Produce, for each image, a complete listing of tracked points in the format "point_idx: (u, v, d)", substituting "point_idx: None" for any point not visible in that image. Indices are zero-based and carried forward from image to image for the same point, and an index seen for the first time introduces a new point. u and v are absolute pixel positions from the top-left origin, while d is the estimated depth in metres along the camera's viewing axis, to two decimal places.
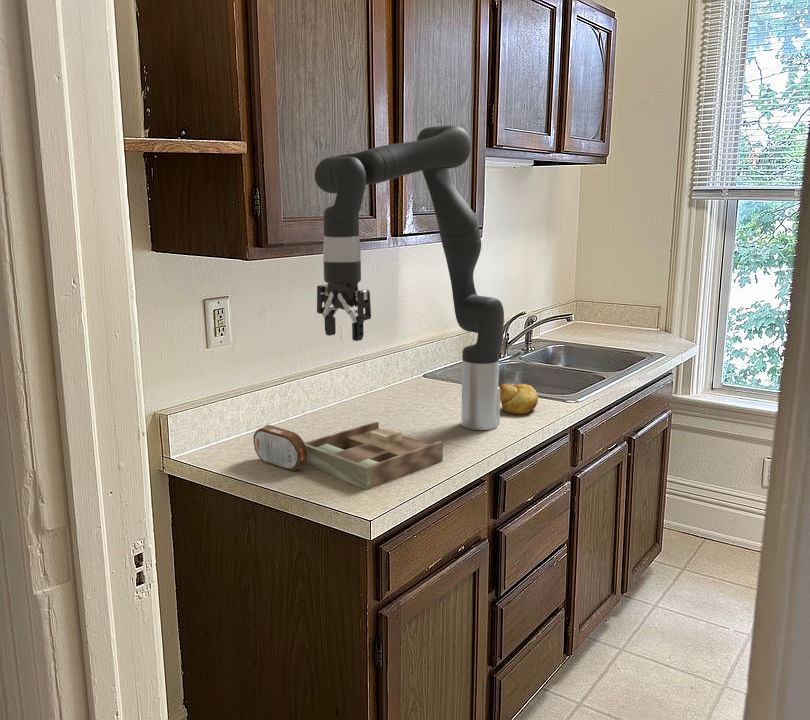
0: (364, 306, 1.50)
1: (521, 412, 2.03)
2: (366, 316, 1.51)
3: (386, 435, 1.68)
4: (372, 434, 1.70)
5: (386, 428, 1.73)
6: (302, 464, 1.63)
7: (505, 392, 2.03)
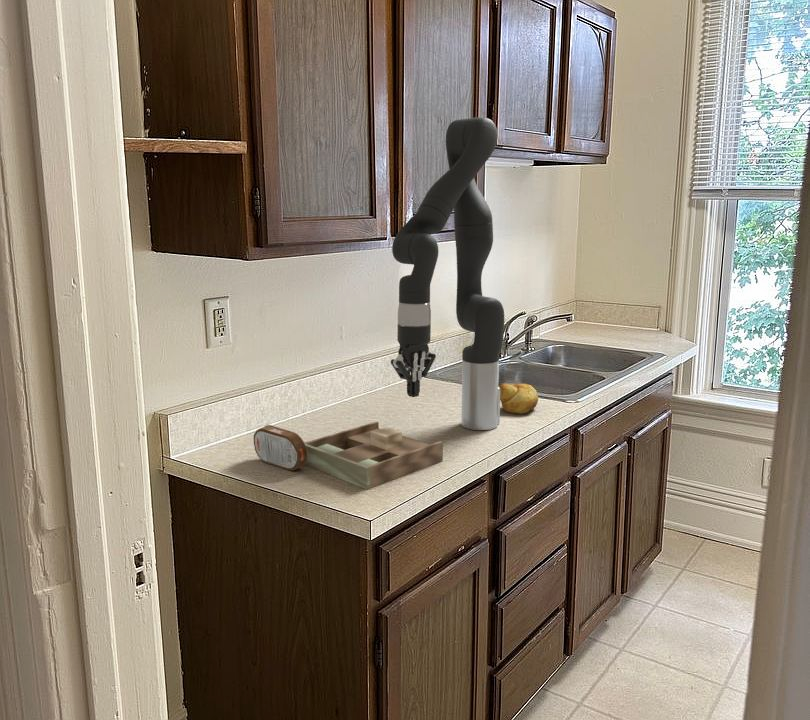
0: None
1: (521, 412, 2.03)
2: None
3: (386, 435, 1.68)
4: (372, 434, 1.70)
5: (386, 428, 1.73)
6: (302, 464, 1.63)
7: (505, 391, 2.03)
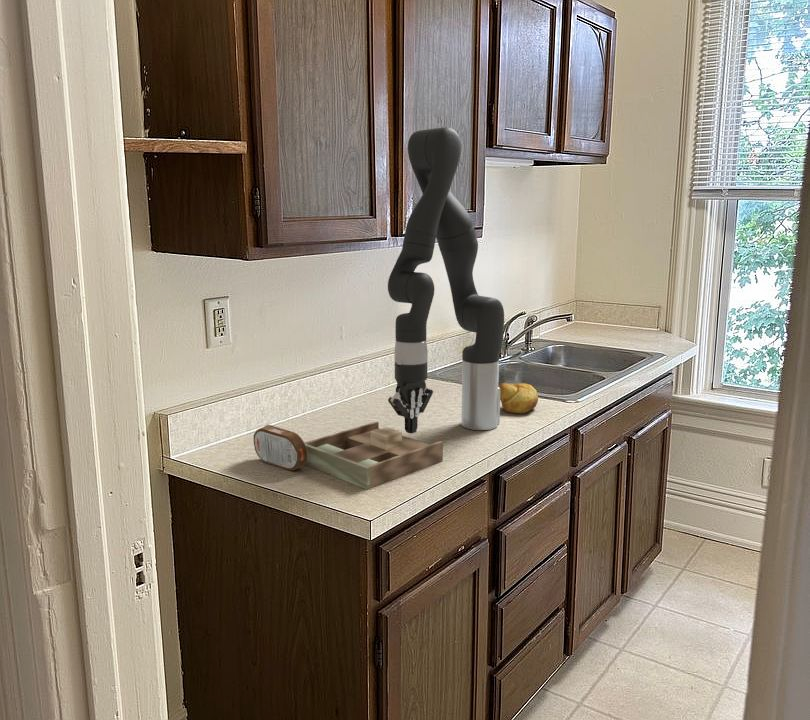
0: None
1: (521, 411, 2.03)
2: None
3: (386, 435, 1.68)
4: (372, 434, 1.70)
5: (386, 428, 1.73)
6: (302, 464, 1.63)
7: (505, 391, 2.03)
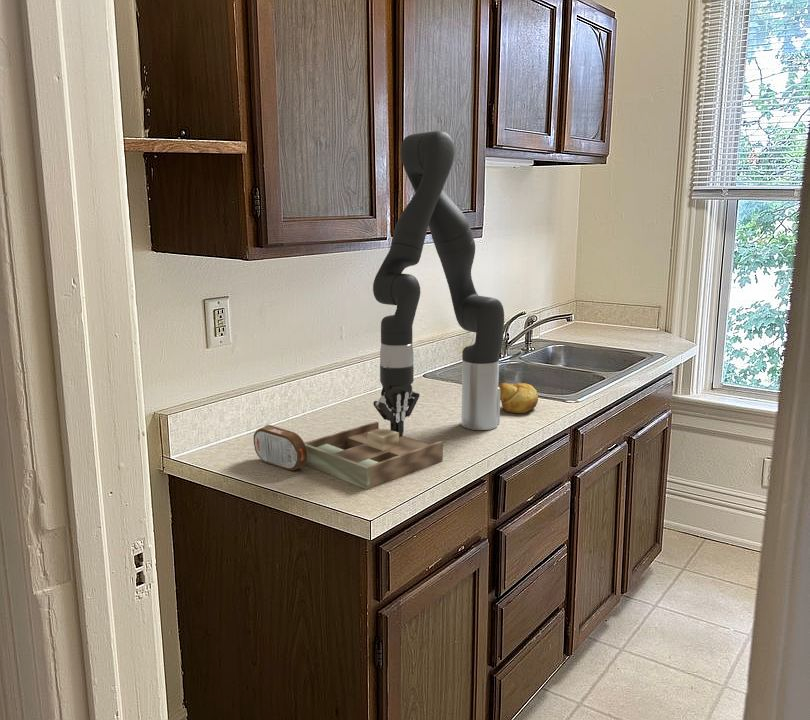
0: None
1: (520, 411, 2.03)
2: None
3: (383, 436, 1.67)
4: (369, 435, 1.69)
5: (383, 429, 1.72)
6: (302, 464, 1.63)
7: (505, 391, 2.04)
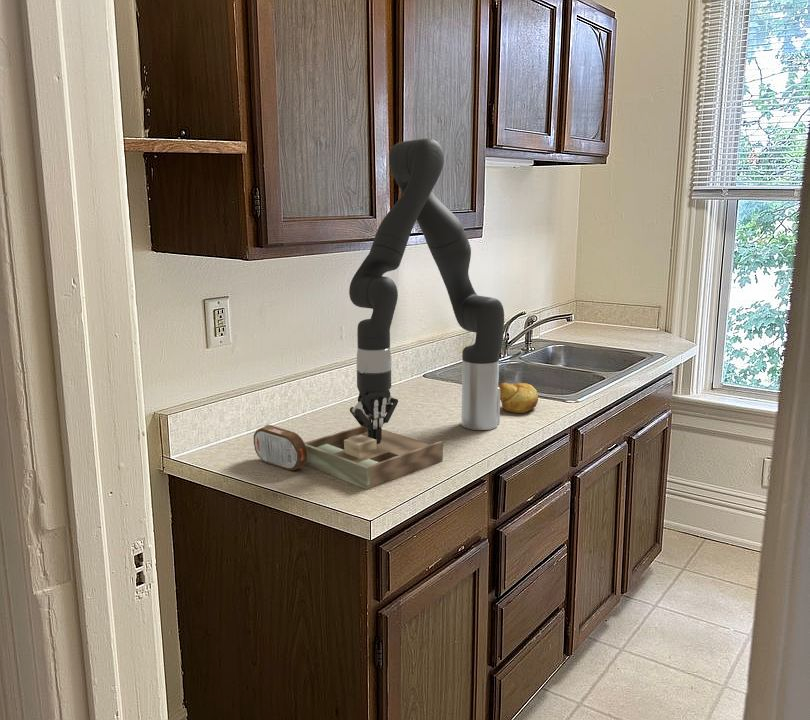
0: None
1: (520, 411, 2.04)
2: None
3: (360, 443, 1.62)
4: (346, 442, 1.64)
5: (360, 436, 1.67)
6: (302, 464, 1.63)
7: (505, 390, 2.04)
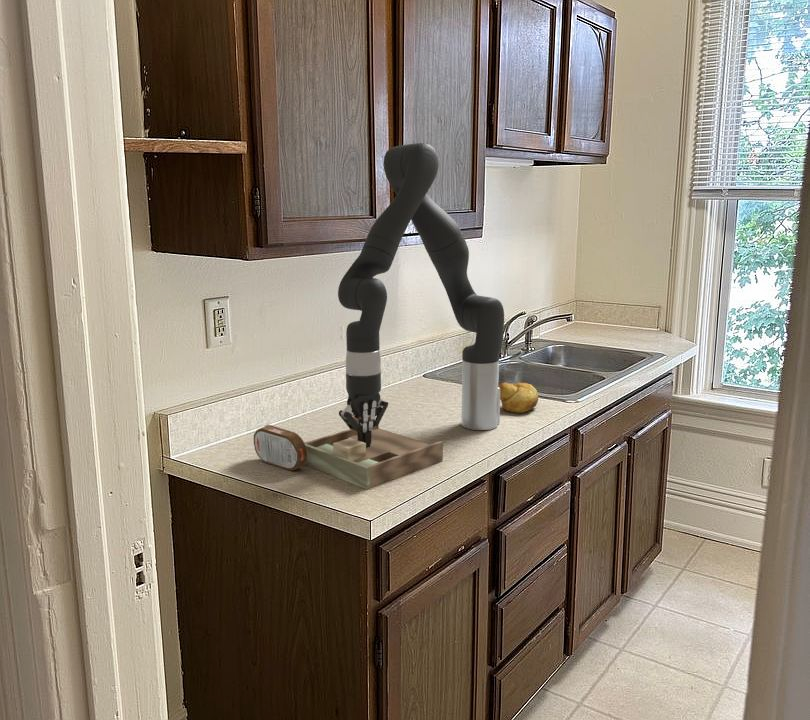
0: None
1: (520, 411, 2.04)
2: None
3: (349, 447, 1.60)
4: (334, 445, 1.62)
5: (350, 439, 1.65)
6: (302, 464, 1.63)
7: (504, 390, 2.04)
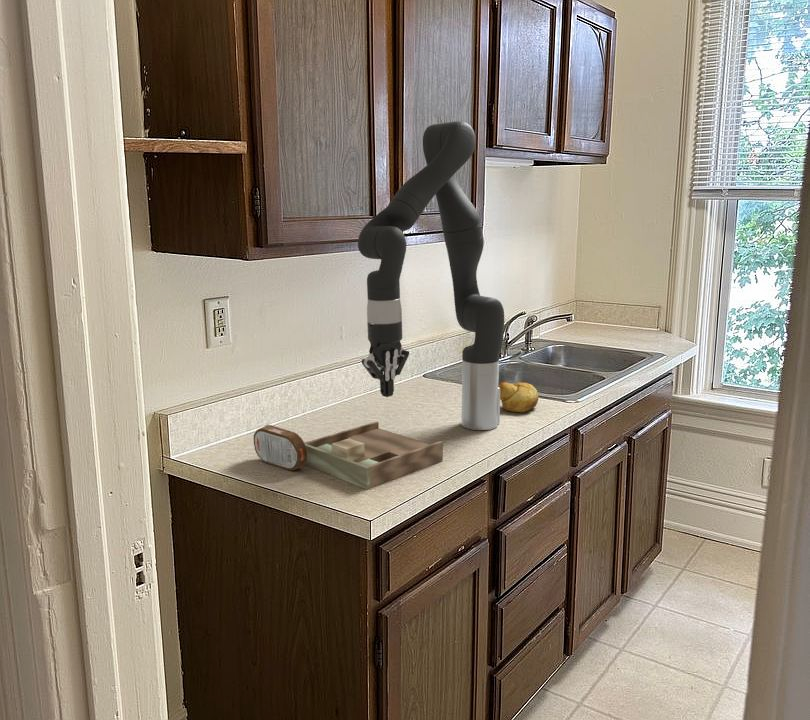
0: None
1: (520, 410, 2.04)
2: None
3: (347, 447, 1.60)
4: (333, 446, 1.62)
5: (348, 439, 1.65)
6: (302, 464, 1.63)
7: (504, 390, 2.05)
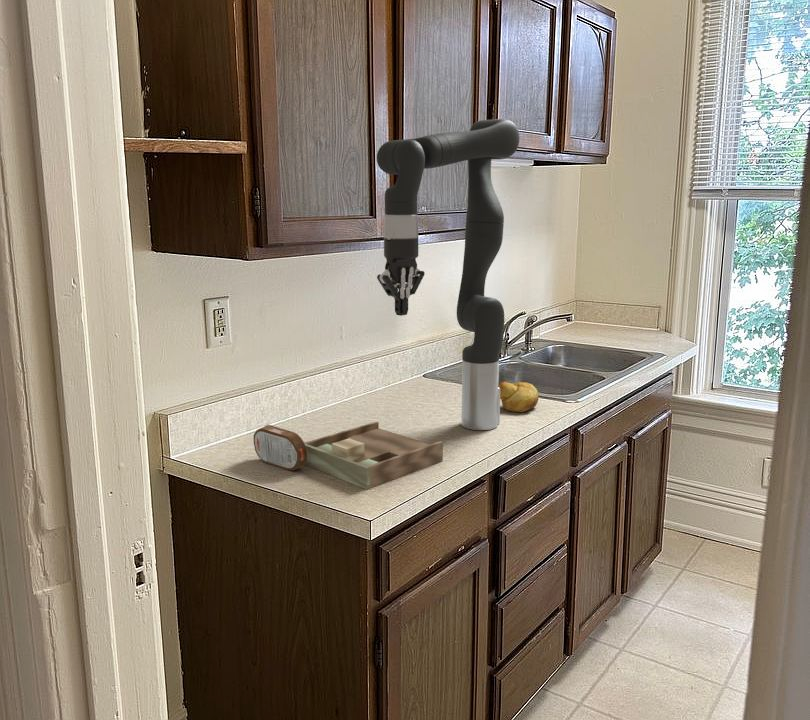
0: None
1: (520, 410, 2.04)
2: None
3: (347, 447, 1.60)
4: (333, 446, 1.62)
5: (348, 439, 1.65)
6: (302, 464, 1.63)
7: (504, 389, 2.05)
